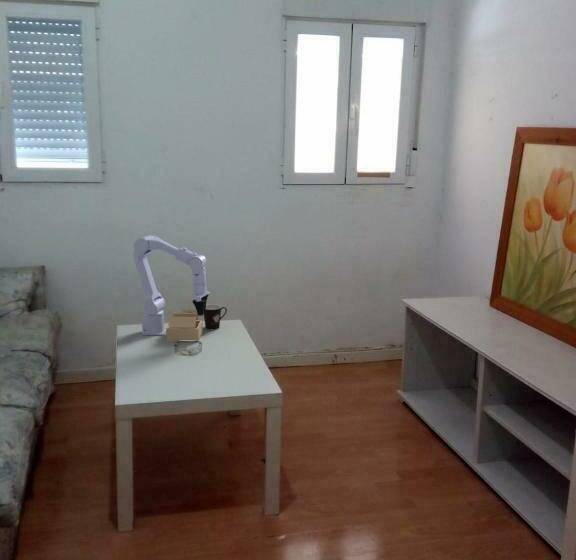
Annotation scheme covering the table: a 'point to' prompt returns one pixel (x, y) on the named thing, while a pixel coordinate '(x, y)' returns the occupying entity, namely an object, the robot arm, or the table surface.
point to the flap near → (182, 322)
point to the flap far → (186, 315)
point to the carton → (184, 333)
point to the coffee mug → (213, 316)
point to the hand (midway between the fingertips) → (201, 313)
